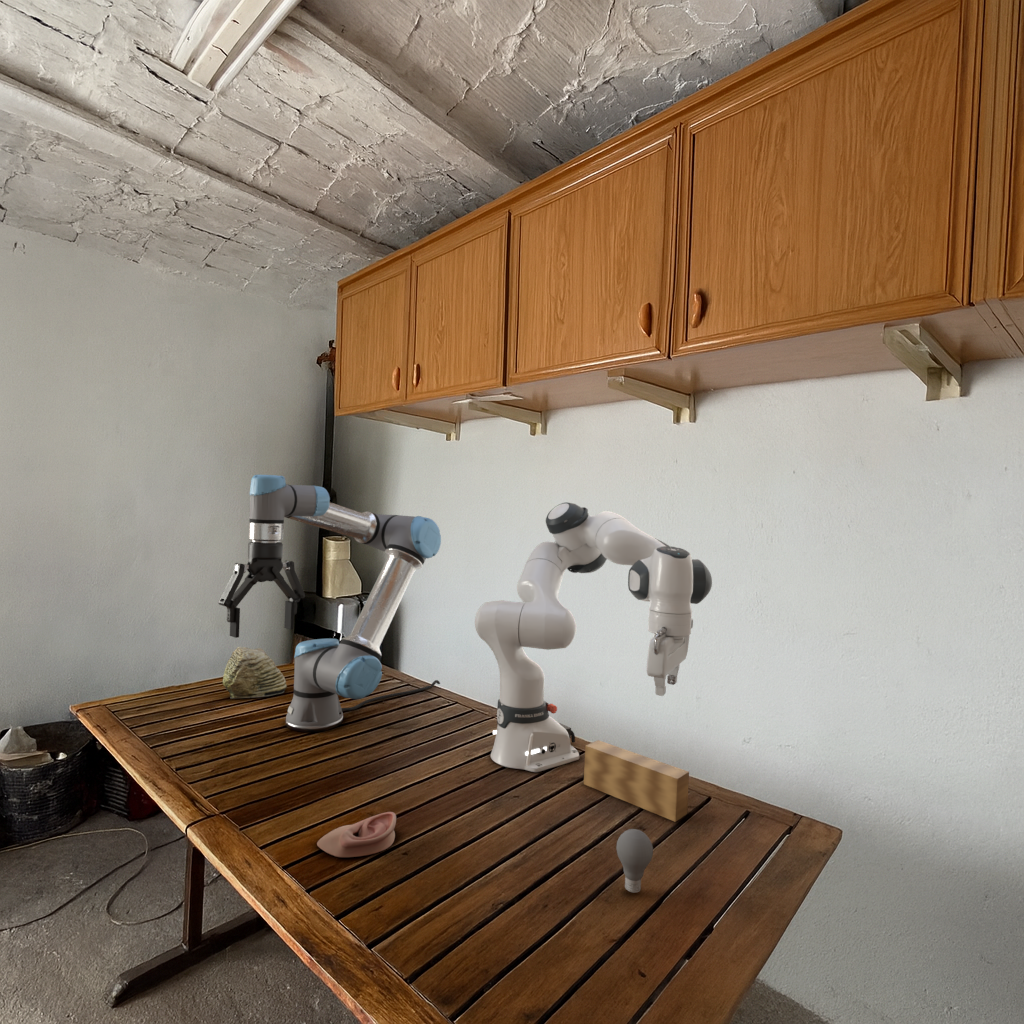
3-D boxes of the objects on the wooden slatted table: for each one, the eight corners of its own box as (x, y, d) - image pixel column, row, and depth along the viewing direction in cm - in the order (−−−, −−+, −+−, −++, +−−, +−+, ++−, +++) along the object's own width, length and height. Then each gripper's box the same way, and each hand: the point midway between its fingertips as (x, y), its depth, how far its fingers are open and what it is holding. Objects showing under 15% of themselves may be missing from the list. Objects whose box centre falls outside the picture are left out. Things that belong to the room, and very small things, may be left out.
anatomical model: (309, 830, 112) (339, 800, 124) (308, 852, 113) (338, 821, 124) (379, 841, 110) (403, 810, 121) (378, 864, 110) (402, 831, 121)
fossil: (218, 695, 195) (220, 647, 195) (278, 685, 208) (279, 640, 207) (228, 703, 189) (230, 653, 188) (289, 692, 201) (290, 645, 201)
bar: (583, 784, 145) (585, 745, 145) (596, 777, 149) (598, 739, 149) (675, 822, 130) (677, 778, 129) (687, 813, 133) (689, 771, 133)
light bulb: (610, 879, 108) (613, 822, 108) (644, 879, 109) (647, 822, 109) (619, 902, 102) (622, 840, 102) (655, 901, 103) (658, 840, 103)
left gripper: (221, 544, 135) (217, 643, 135) (321, 541, 154) (318, 628, 155) (204, 541, 139) (200, 637, 140) (304, 539, 159) (300, 623, 159)
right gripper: (672, 634, 123) (668, 705, 124) (694, 618, 141) (691, 680, 142) (640, 630, 126) (637, 698, 127) (666, 615, 144) (663, 675, 145)
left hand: (262, 632), depth 147 cm, fingers open, 13 cm apart
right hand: (666, 689), depth 134 cm, fingers open, 8 cm apart
